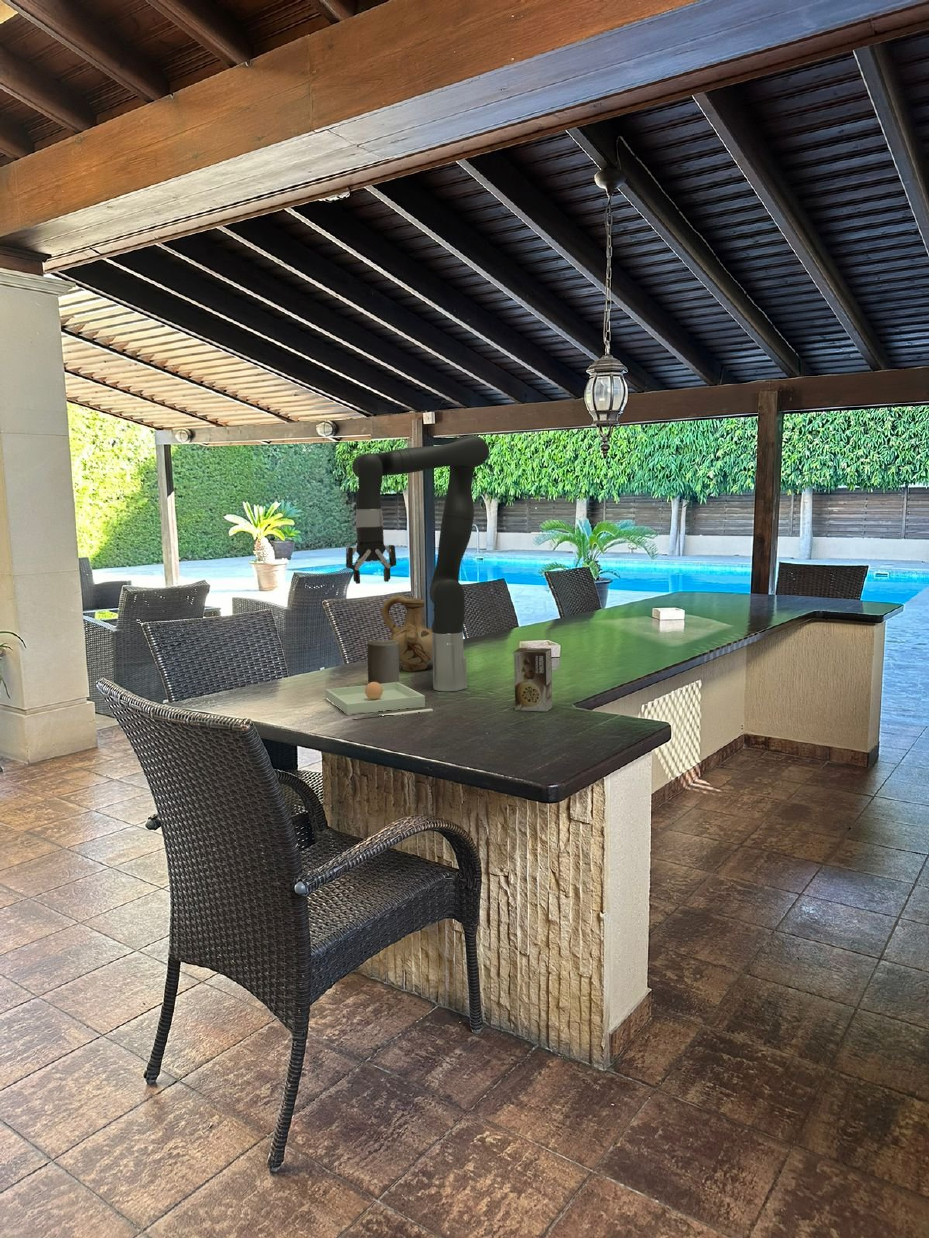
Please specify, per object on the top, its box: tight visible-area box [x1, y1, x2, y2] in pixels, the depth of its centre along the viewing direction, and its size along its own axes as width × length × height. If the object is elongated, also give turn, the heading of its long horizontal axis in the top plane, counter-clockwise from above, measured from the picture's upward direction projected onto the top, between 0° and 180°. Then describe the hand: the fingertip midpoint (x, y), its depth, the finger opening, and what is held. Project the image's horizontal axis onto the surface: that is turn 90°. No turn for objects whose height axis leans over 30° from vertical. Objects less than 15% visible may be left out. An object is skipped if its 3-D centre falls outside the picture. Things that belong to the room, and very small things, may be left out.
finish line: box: [380, 708, 434, 716], centre depth 232 cm, size 22×2×1 cm, turn 114°
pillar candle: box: [366, 637, 400, 685], centre depth 268 cm, size 10×10×15 cm
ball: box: [365, 682, 383, 700], centre depth 246 cm, size 5×5×5 cm
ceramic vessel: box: [381, 595, 434, 672], centre depth 296 cm, size 18×19×25 cm
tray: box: [324, 681, 426, 714], centre depth 246 cm, size 22×22×3 cm
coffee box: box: [513, 647, 553, 713], centre depth 235 cm, size 9×6×16 cm
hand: (372, 582), depth 250 cm, fingers open, 8 cm apart
